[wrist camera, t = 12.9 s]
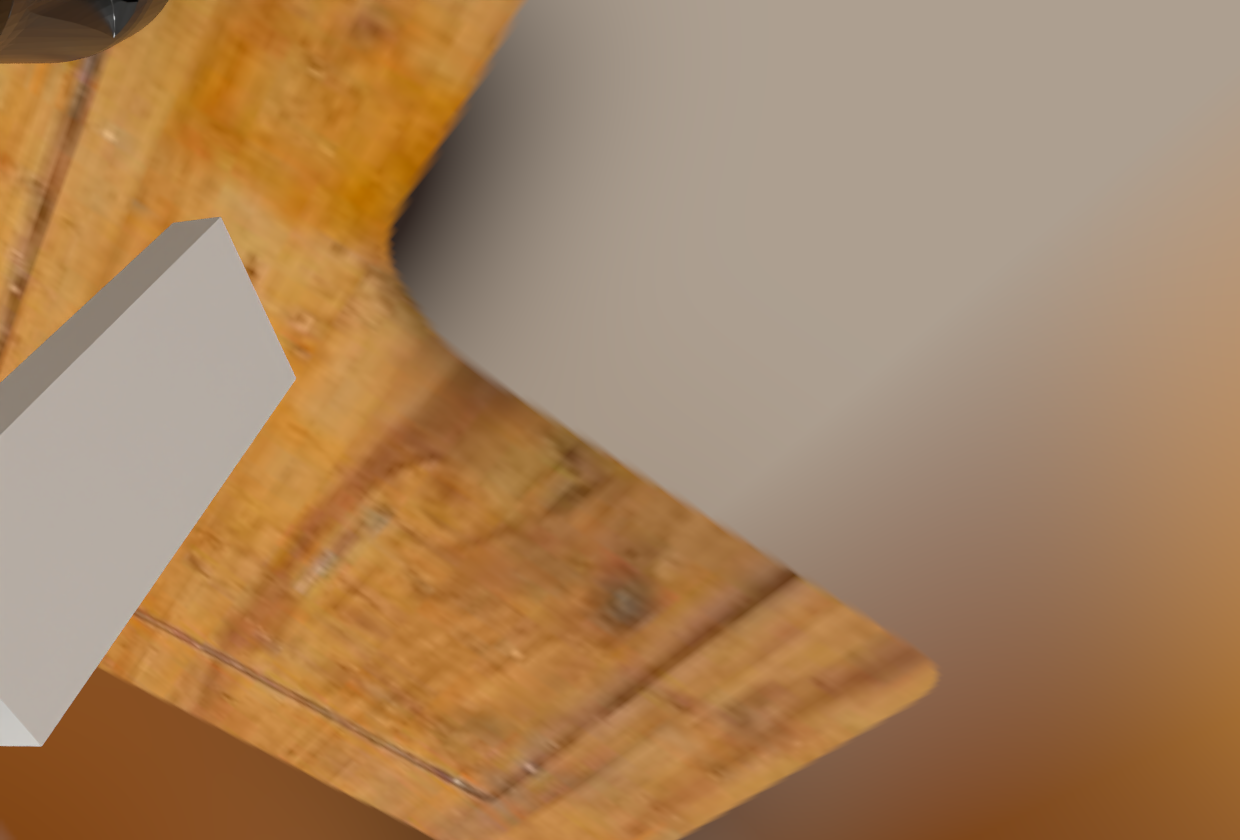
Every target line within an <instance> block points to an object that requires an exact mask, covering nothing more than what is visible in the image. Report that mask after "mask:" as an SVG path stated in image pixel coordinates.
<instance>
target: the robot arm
mask: <svg viewBox="0 0 1240 840" xmlns="http://www.w3.org/2000/svg"><path fill="white" fill-rule="evenodd" d="M167 2H168V0H0V64H1V63H60V62H67V61H73V60H77V59H81V58H85V57H89V56H92V55H95V54H98V53H100V52H102V51H104V50H106V49H108V48H110V47H112V46H114V45H116V44H117V43H119V42H121V41H123V40H125V39H126V38H128V37H130V36H132V35H133V34H135V33H137V32H138V31H140V30H141V29H142V28H144V27H145V26H146V25H148V24H149V23H150V22H151V21H152V20H153V19H154V18H155V17H156V16H157V15H158V14H159V12H160V11H161V10H162V9H163V7H164V6H165V5H166V3H167ZM295 379H296V377H295V375H294V373H293V371H292V369H291V366H290V364H289V362H288V360H287V358H286V356H285V354H284V351H283V349H282V347H281V345H280V343H279V341H278V339H277V336H276V334H275V332H274V330H273V328H272V326H271V324H270V321H269V319H268V317H267V315H266V313H265V311H264V309H263V306H262V304H261V302H260V300H259V298H258V296H257V294H256V291H255V289H254V287H253V285H252V283H251V281H250V279H249V276H248V274H247V272H246V270H245V268H244V266H243V263H242V261H241V259H240V257H239V255H238V253H237V251H236V248H235V246H234V244H233V242H232V240H231V238H230V236H229V233H228V231H227V229H226V227H225V225H224V223H223V221H222V218H221V217H215V218H208V219H200V220H192V221H185V222H177V223H173V224H171V225H170V226H169V227H168V228H167V229H166V230H165V231H164V232H163V233H162V234H161V235H160V236H159V237H157V238H156V239H155V240H154V241H153V242H152V243H151V244H150V245H149V246H148V247H147V248H146V249H144V250H143V251H142V252H141V253H140V254H139V255H138V256H137V257H136V258H135V259H134V260H133V261H131V262H130V263H129V264H128V265H127V266H126V267H125V268H124V269H123V270H122V271H121V272H120V273H119V274H117V275H116V276H115V277H114V278H113V279H112V280H111V281H110V282H109V283H108V284H107V285H106V286H104V287H103V288H102V289H101V290H100V291H99V292H98V293H97V294H96V295H95V296H94V297H93V298H92V299H90V300H89V301H88V302H87V303H86V304H85V305H84V306H83V307H82V308H81V309H80V310H79V311H77V312H76V313H75V314H74V315H73V316H72V317H71V318H70V319H69V320H68V321H67V322H66V323H64V324H63V325H62V326H61V327H60V328H59V329H58V330H57V331H56V332H55V333H54V334H53V335H52V336H50V337H49V338H48V339H47V340H46V341H45V342H44V343H43V344H42V345H41V346H40V347H39V348H37V349H36V350H35V351H34V352H33V353H32V354H31V355H30V356H29V357H28V358H27V359H26V360H24V361H23V362H22V363H21V364H20V365H19V366H18V367H17V368H16V369H15V370H14V371H13V372H12V373H10V374H9V375H8V376H7V377H6V378H5V379H4V380H3V381H2V382H1V383H0V746H42V745H43V744H44V742H45V741H46V739H47V738H48V736H49V735H50V734H51V732H52V731H53V729H54V728H55V726H56V725H57V723H58V722H59V721H60V719H61V718H62V716H63V715H64V713H65V712H66V710H67V709H68V708H69V706H70V705H71V703H72V702H73V700H74V699H75V697H76V696H77V694H78V693H79V692H80V690H81V689H82V687H83V686H84V684H85V683H86V682H87V680H88V678H89V677H90V676H91V674H92V673H93V671H94V670H95V669H96V667H97V666H98V664H99V663H100V661H101V660H102V658H103V657H104V656H105V654H106V653H107V651H108V650H109V648H110V647H111V645H112V644H113V643H114V641H115V640H116V638H117V637H118V635H119V634H120V632H121V631H122V629H123V628H124V627H125V625H126V624H127V622H128V621H129V619H130V618H131V616H132V615H133V614H134V612H135V611H136V609H137V608H138V606H139V605H140V603H141V602H142V601H143V599H144V598H145V596H146V595H147V593H148V592H149V590H150V589H151V588H152V586H153V585H154V583H155V582H156V580H157V579H158V577H159V576H160V575H161V573H162V572H163V570H164V569H165V567H166V566H167V564H168V563H169V562H170V560H171V559H172V557H173V556H174V554H175V553H176V551H177V550H178V549H179V547H180V546H181V544H182V543H183V541H184V540H185V538H186V537H187V536H188V534H189V533H190V531H191V530H192V528H193V527H194V525H195V524H196V522H197V521H198V520H199V518H200V517H201V515H202V514H203V512H204V511H205V509H206V508H207V507H208V505H209V504H210V502H211V501H212V499H213V498H214V496H215V495H216V494H217V492H218V491H219V489H220V488H221V486H222V485H223V483H224V482H225V481H226V479H227V478H228V476H229V475H230V473H231V472H232V470H233V469H234V468H235V466H236V465H237V463H238V462H239V460H240V459H241V457H242V456H243V455H244V453H245V452H246V450H247V449H248V447H249V446H250V444H251V443H252V442H253V440H254V439H255V437H256V436H257V434H258V433H259V431H260V430H261V429H262V427H263V426H264V424H265V423H266V421H267V420H268V418H269V417H270V415H271V414H272V413H273V411H274V410H275V408H276V407H277V405H278V404H279V402H280V401H281V400H282V398H283V397H284V395H285V394H286V392H287V391H288V389H289V388H290V387H291V385H292V384H293V382H294V381H295Z"/></svg>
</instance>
